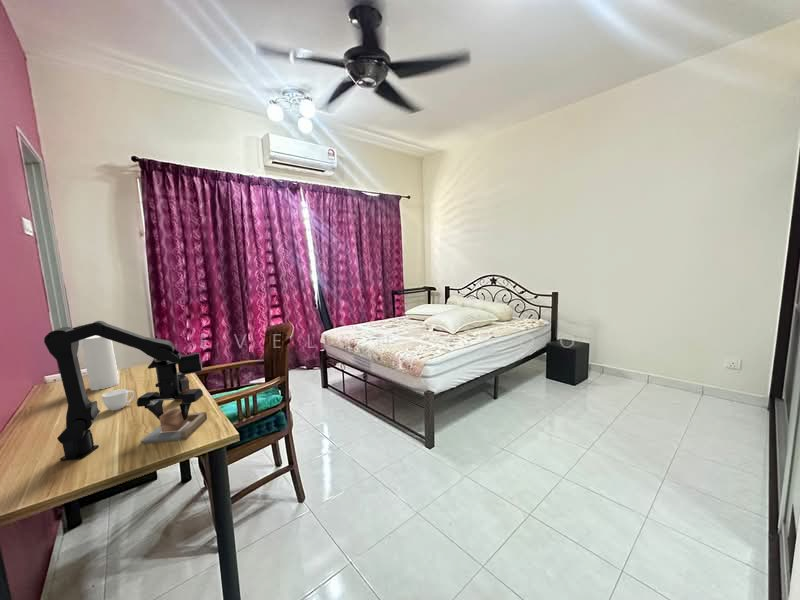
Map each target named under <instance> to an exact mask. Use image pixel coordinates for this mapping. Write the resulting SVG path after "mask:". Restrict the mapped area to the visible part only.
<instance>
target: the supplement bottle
mask: <svg viewBox="0 0 800 600" xmlns="http://www.w3.org/2000/svg"><path fill="white" fill-rule="evenodd" d="M177 374H178V377H180V378H181V381H183V380H189V378H188V376H186V375H183V374H181V373H179V371H177ZM188 390H190V388H189V389H184V391H182V392H180V393H186V392H187V391H188ZM174 401H176V402H183V401H182V399H176V400H174Z"/></svg>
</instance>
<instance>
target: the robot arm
mask: <svg viewBox="0 0 800 600" xmlns="http://www.w3.org/2000/svg"><path fill="white" fill-rule="evenodd" d="M95 335H96V336H100V337H103V338H106V339H109V340H112V342H116V343H118V344H122V345H125V346H126V347H127V346H128V347H131V348H133V349H137V350H139V351H141V352H143V353H144V354H145V355H147V356H149V357H150V358H152V360H151V363H149V365H148V367H147V369H155V372H156V379H157V383H155V385H154V386H155V388H158V391H151V392H150V391H149V392H146V393H144V394H143V395H140V396H139V397H138V398H137V400H136V406H137V407H138V408H140V407H142V408H143V407H144V409H147V410H148V411H149V412H151V413H152V414H153V415H154V416H155V417H156V418H157V419H158V420H159V421H160V416H161V415H162V414H164V413H165V412H164V406H163V403H164V401H172V400H173V401H175V400H176V399H182V401H181V403H179V408H180V409H181V413H182V417H183V419H184V420H186V419H187V416H188V414H189V411H190V408H191V405H192V403H195V402H197V401H199V399H201V398H202V397H203V396H204V392H203V390H202V389H201V388H191V389H190V380H189V379H188V380H183V381H181V378H180V377H178V374H177V373H178V372H179V373H181V374H183V375H185V376H186V375H191V374H195V373H196V374H197V373H201V372H203V363H202V359H201V356H200V355H201V354H200V352H194V353H191V354H185V355H184V354H182V353H181V352H180V351H179V350H177V349H176V348H175V345H174V343H173V342H172V341H170V340H168V339H161V338H155V337H148V336H144V335H141V334H137V333H136V332H132V331H130V330H127V329H123V328H120V327H117V326H116V325H112V324H109V323H107V322H105V321H104V320H97V321H93V322H92V323H87V324H86V323H85V324H82V325H78V326H75V327H70V326H62V327H59V328H57V329H53V330H51V331H50V332H48V333H47V334H46V335H45V336H44V338H43V341H44V344H45V347H46V349H47V350H48V352H49V354H50V355H51V356H52V357H53V358H54V359H55V361H56V363H57V367H58V370H59V374H60V379H61V383H62V385H63V391H64V393H65V399H66V402H67V409H66V410H67V411H66V415H65V428H64V429H63V431H62V432H61V433H60V434H59V435H58V437H56V438H57V440H58V442H59V443H60V444H62V449H63V453H64V455H63V456H62V457H60V458H59V461H68V460H79V459H83V458H85V457H86V456H88V455H89V454H91V453H92V452H94V451H95V450H96V449H98V448H99V447H100V446H99V444H95V443H94V437H93V433H92V431H91V429H90V428H91V427H92V426H93V424H94V423H95V421H96V420H97V419H98V416H99V414H100V412H101V411H100V410H99V408H98V400H94V401H91V400H90V399H89V398H88V395H87V391H86V387H85V383H84V378H83V375H82V371H81V367H80V362H79V358H78V352H79V346H80V341H81V340H82V339H85V338H89V337H92V336H95ZM177 366H178V367H177ZM177 368H178V369H177ZM184 389H190V390H188V391H187V392H186V393H180V392H182V391H184Z"/></svg>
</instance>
